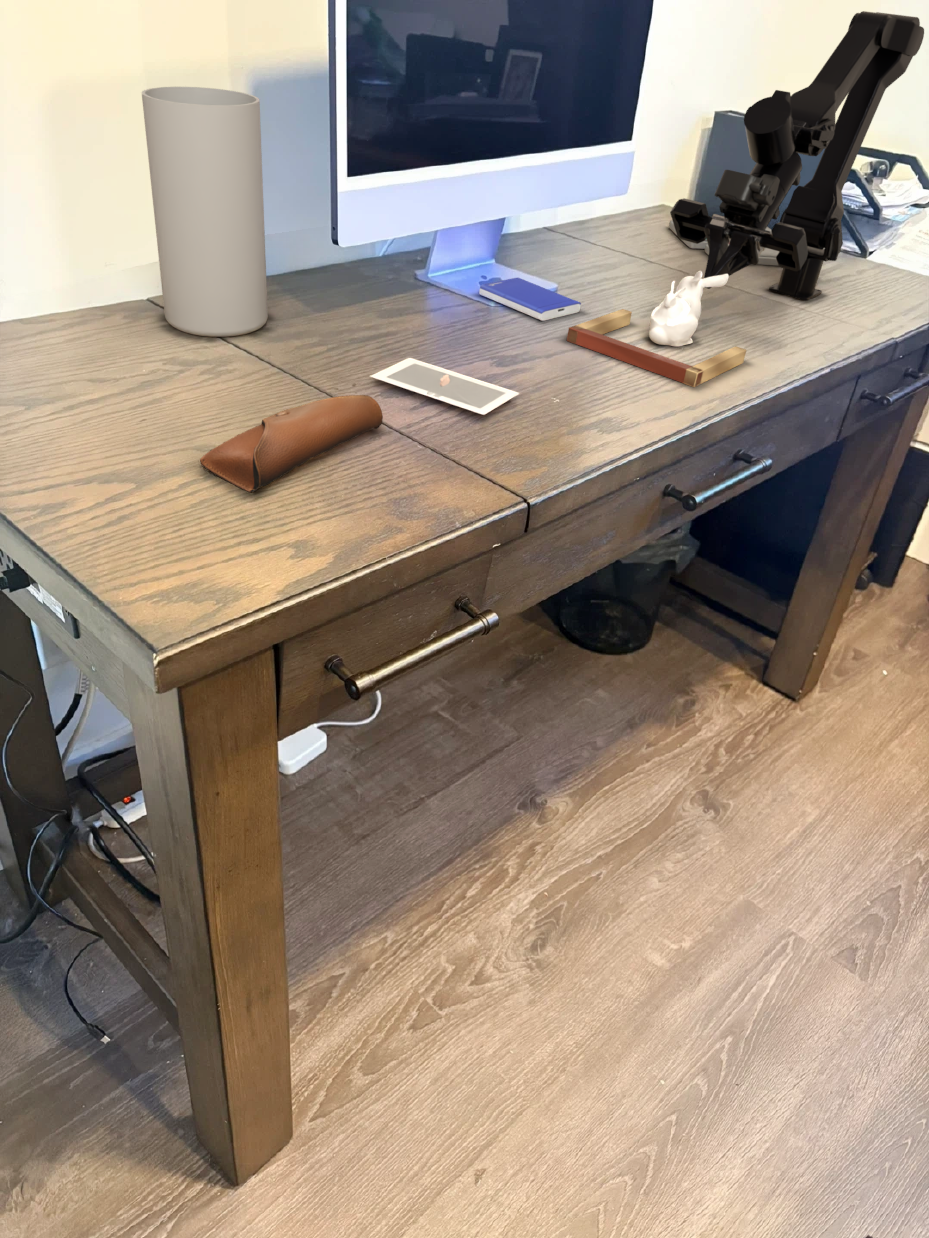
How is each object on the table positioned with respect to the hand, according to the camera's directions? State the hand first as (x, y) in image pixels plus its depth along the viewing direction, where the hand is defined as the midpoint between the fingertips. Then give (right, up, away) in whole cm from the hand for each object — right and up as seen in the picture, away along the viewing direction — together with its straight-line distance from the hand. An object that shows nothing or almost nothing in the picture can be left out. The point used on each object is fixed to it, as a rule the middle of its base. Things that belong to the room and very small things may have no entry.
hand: (705, 286), depth 125 cm
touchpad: (-35, -19, -20) cm, 44 cm away
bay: (-7, -10, -3) cm, 13 cm away
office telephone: (+17, +24, +46) cm, 55 cm away
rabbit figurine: (-3, -7, +2) cm, 8 cm away
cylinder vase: (-63, -7, -8) cm, 64 cm away
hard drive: (-23, +1, +9) cm, 25 cm away
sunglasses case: (-49, -28, -34) cm, 66 cm away
